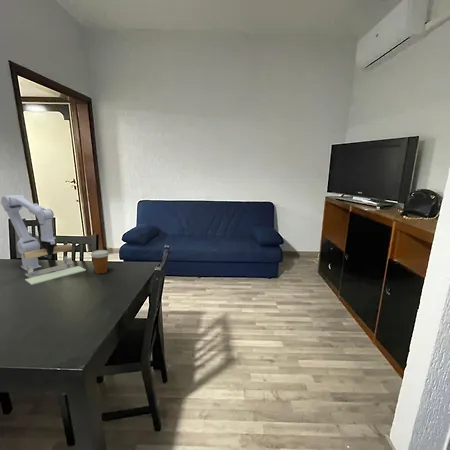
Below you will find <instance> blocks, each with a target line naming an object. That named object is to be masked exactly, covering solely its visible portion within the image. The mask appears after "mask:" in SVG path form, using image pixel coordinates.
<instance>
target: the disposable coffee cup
mask: <svg viewBox="0 0 450 450" xmlns="http://www.w3.org/2000/svg"><path fill="white" fill-rule="evenodd" d="M90 255H91V258H92V262H93V263H92V265H93V268H94V272H95V274H97V275H98V274H100V273H102V274H105V273H107V271H108V264H109V263H108V262H109V255H110V253H109V251H108V250H105V249H97V250H93V251H92V252H91V253H90Z"/></svg>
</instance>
